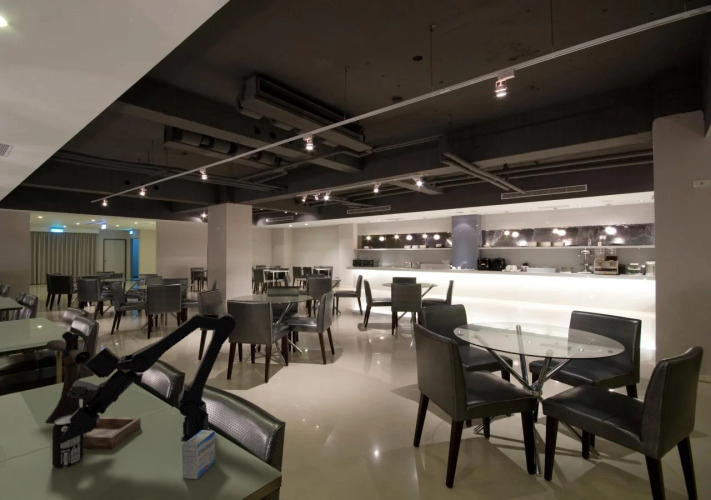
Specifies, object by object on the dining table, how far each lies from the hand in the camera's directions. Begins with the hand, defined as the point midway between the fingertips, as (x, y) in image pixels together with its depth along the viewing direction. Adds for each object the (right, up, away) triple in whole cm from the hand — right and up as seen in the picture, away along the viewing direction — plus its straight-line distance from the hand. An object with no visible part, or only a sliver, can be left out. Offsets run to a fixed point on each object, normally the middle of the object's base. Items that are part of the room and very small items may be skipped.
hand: (65, 434), depth 96 cm
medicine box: (+38, -8, -3) cm, 39 cm away
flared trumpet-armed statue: (-23, -9, +27) cm, 37 cm away
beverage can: (+1, -8, 0) cm, 8 cm away
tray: (0, -8, +13) cm, 15 cm away
